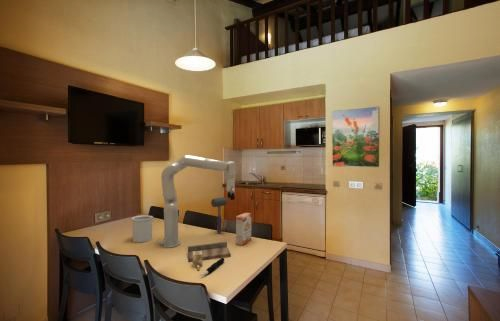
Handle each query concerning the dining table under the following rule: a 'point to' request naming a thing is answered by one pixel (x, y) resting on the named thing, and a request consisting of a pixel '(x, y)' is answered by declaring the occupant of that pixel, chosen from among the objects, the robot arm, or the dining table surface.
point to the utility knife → (213, 266)
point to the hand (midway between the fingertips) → (231, 198)
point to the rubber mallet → (219, 210)
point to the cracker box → (243, 228)
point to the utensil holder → (142, 228)
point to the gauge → (197, 259)
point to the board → (209, 251)
